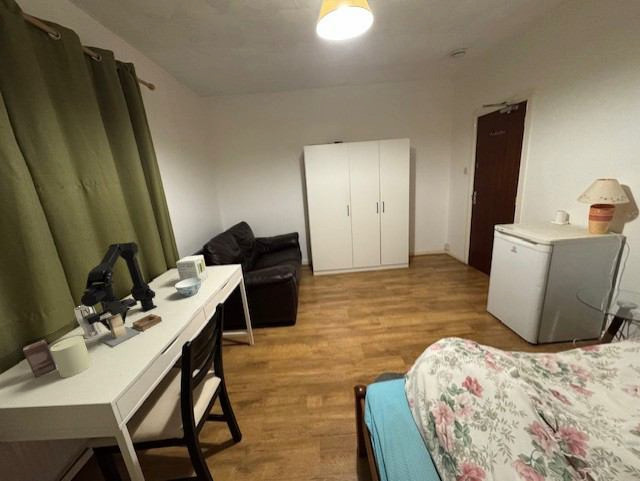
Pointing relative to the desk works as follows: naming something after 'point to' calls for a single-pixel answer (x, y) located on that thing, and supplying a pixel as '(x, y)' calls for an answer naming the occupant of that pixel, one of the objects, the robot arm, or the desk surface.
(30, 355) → the box
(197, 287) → the chinaware
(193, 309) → the desk surface
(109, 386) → the desk surface
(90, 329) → the beer glass
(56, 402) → the desk surface
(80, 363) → the can
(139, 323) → the collar
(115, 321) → the peg
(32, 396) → the desk surface
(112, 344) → the rubber mat
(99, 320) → the robot arm
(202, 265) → the supplement box
